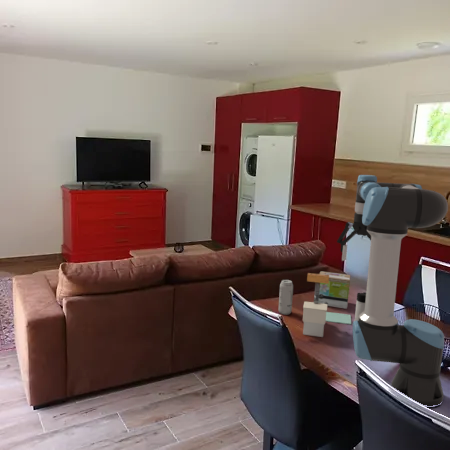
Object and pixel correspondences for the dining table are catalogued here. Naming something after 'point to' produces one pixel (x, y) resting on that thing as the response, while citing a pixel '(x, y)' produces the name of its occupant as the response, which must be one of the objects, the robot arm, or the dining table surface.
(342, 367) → the dining table surface
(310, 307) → the cover
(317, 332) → the block
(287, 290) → the energy drink can
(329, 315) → the mat
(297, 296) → the dining table surface
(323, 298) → the tea box
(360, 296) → the travel mug
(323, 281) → the t key
